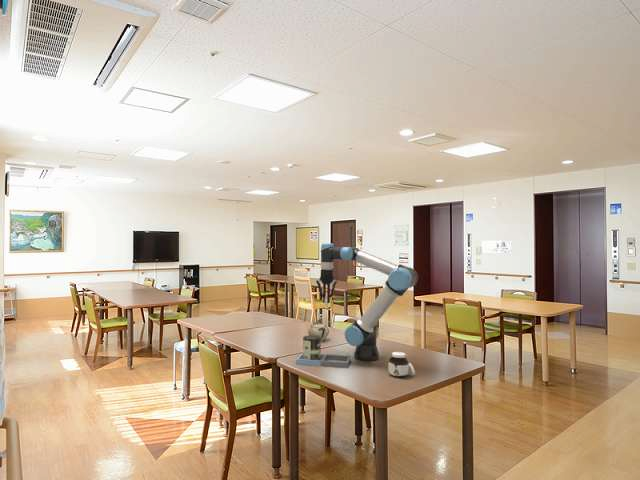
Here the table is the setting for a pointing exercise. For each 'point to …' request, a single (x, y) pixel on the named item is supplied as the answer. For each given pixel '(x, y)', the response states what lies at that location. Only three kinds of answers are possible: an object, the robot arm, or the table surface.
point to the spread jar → (400, 366)
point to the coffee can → (311, 347)
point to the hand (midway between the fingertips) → (326, 308)
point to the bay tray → (326, 363)
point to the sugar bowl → (318, 330)
